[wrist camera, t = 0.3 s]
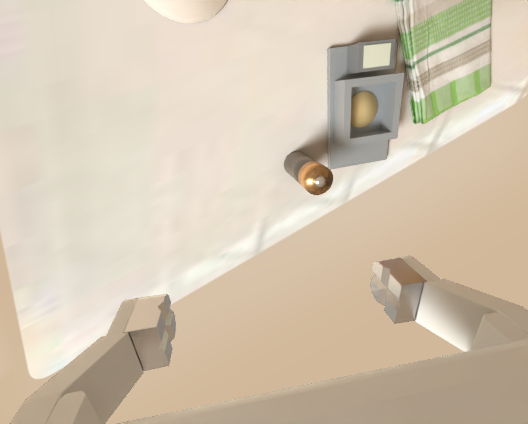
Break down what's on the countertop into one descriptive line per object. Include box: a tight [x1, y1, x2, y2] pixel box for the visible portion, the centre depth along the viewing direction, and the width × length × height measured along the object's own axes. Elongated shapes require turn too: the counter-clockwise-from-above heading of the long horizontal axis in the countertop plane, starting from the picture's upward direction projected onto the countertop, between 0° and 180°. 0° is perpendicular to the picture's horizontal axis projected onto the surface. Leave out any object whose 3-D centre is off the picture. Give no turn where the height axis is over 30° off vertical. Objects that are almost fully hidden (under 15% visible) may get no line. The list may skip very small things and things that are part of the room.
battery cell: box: [284, 151, 333, 195], centre depth 44 cm, size 4×4×12 cm
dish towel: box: [395, 0, 492, 124], centre depth 45 cm, size 17×23×4 cm
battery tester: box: [327, 39, 404, 169], centre depth 46 cm, size 20×12×5 cm, turn 7°
